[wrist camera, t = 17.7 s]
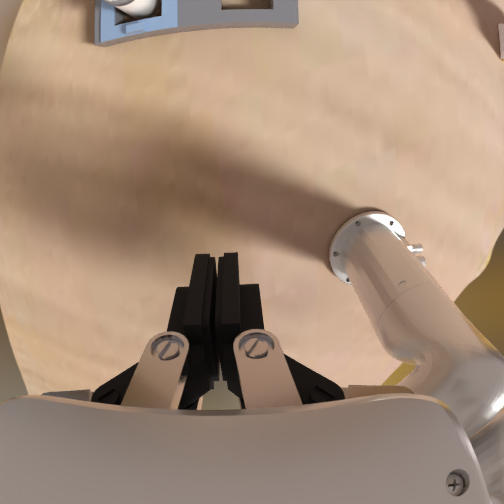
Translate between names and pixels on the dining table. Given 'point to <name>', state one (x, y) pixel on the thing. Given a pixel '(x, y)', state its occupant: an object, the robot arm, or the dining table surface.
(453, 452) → the robot arm
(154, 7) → the plug
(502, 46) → the medicine bottle
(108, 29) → the grey slotted holder
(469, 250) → the dining table surface
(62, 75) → the dining table surface
